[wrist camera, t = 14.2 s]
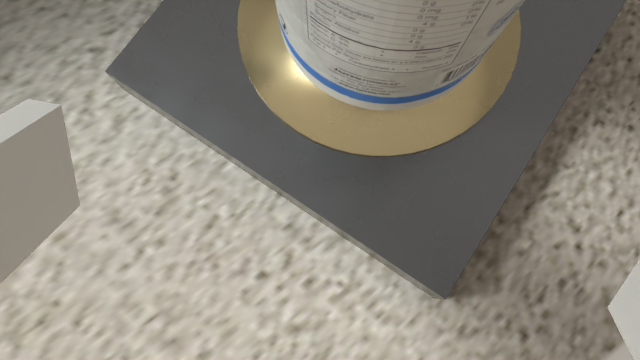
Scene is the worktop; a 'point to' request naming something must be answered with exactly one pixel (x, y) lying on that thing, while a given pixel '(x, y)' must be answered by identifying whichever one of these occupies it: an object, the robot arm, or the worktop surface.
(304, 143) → the arbor press
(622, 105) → the worktop surface
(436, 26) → the supplement tub
